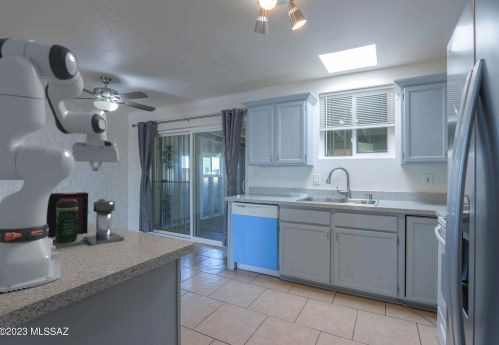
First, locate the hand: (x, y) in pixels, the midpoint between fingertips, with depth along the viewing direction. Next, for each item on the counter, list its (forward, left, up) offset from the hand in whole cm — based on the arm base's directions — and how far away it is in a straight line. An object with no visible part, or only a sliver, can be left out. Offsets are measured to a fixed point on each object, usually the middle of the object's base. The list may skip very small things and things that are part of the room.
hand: (95, 171), depth 126 cm
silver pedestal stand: (-14, 0, -31) cm, 34 cm away
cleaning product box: (+11, +9, -32) cm, 35 cm away
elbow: (-11, 0, -18) cm, 21 cm away
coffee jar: (-4, +12, -32) cm, 34 cm away
